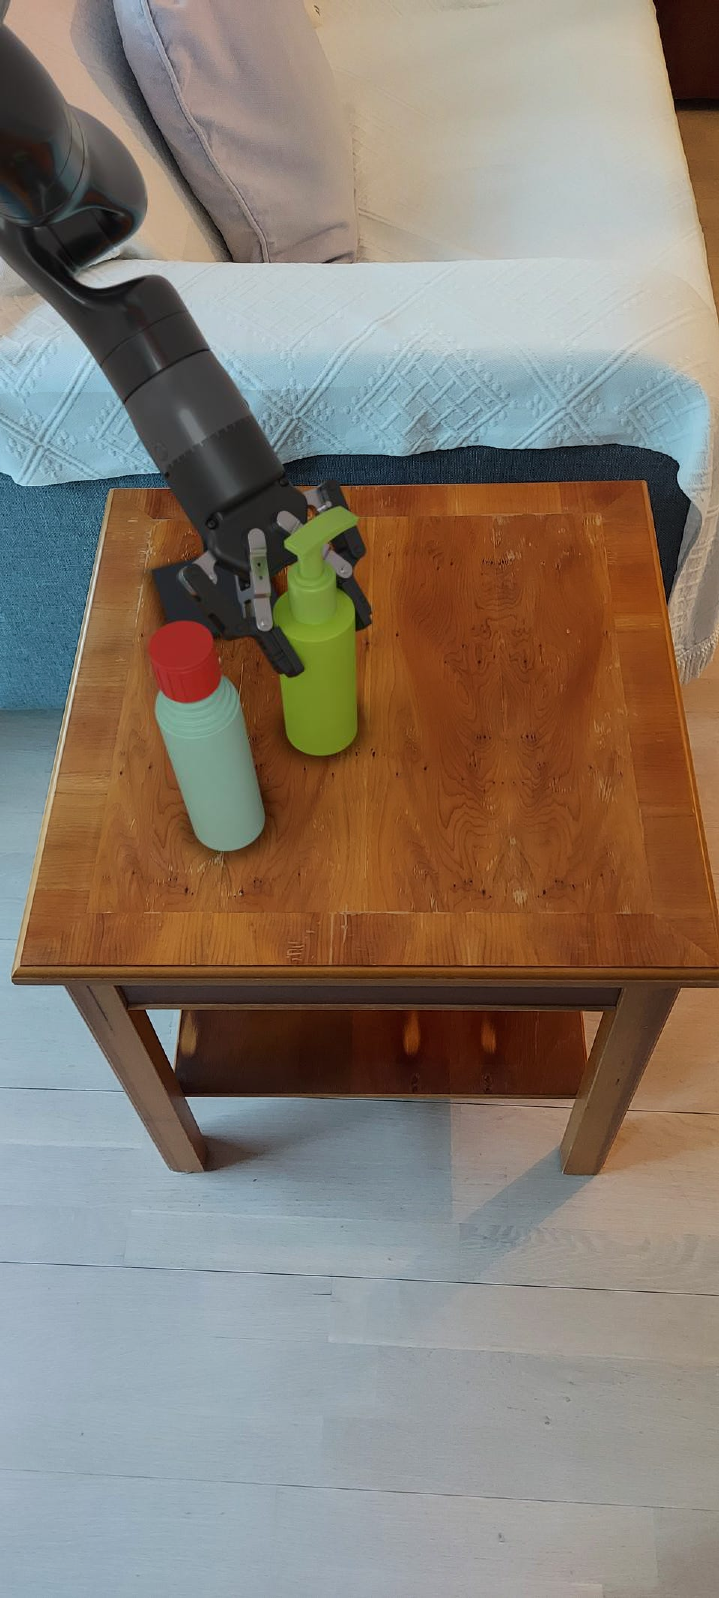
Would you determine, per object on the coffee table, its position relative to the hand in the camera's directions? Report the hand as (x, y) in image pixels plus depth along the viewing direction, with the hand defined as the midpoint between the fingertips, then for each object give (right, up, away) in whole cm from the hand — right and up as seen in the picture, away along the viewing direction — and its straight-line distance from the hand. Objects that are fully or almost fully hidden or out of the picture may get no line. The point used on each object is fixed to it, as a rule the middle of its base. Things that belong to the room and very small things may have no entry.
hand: (330, 650), depth 73 cm
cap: (-9, -3, -9) cm, 13 cm away
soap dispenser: (-1, -5, +9) cm, 11 cm away
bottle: (-8, -13, +4) cm, 15 cm away
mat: (-11, +8, +19) cm, 23 cm away
